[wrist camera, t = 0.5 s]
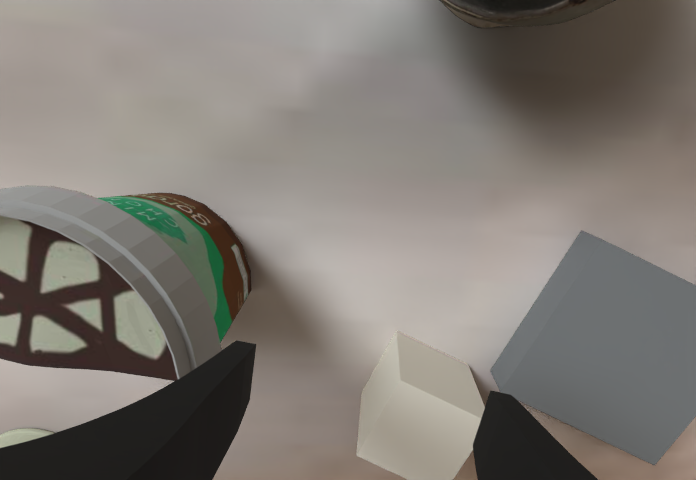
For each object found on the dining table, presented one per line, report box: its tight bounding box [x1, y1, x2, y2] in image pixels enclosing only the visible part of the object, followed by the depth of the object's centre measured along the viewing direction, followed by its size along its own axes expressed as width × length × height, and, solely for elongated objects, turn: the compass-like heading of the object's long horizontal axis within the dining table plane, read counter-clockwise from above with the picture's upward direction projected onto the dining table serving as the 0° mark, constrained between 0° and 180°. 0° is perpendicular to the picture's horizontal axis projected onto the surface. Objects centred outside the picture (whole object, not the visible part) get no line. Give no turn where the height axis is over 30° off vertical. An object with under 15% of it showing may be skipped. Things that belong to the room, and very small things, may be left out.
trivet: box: [491, 230, 696, 465], centre depth 21 cm, size 9×9×2 cm
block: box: [356, 330, 485, 480], centre depth 21 cm, size 4×4×5 cm
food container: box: [0, 186, 251, 381], centre depth 17 cm, size 12×6×10 cm, turn 84°
